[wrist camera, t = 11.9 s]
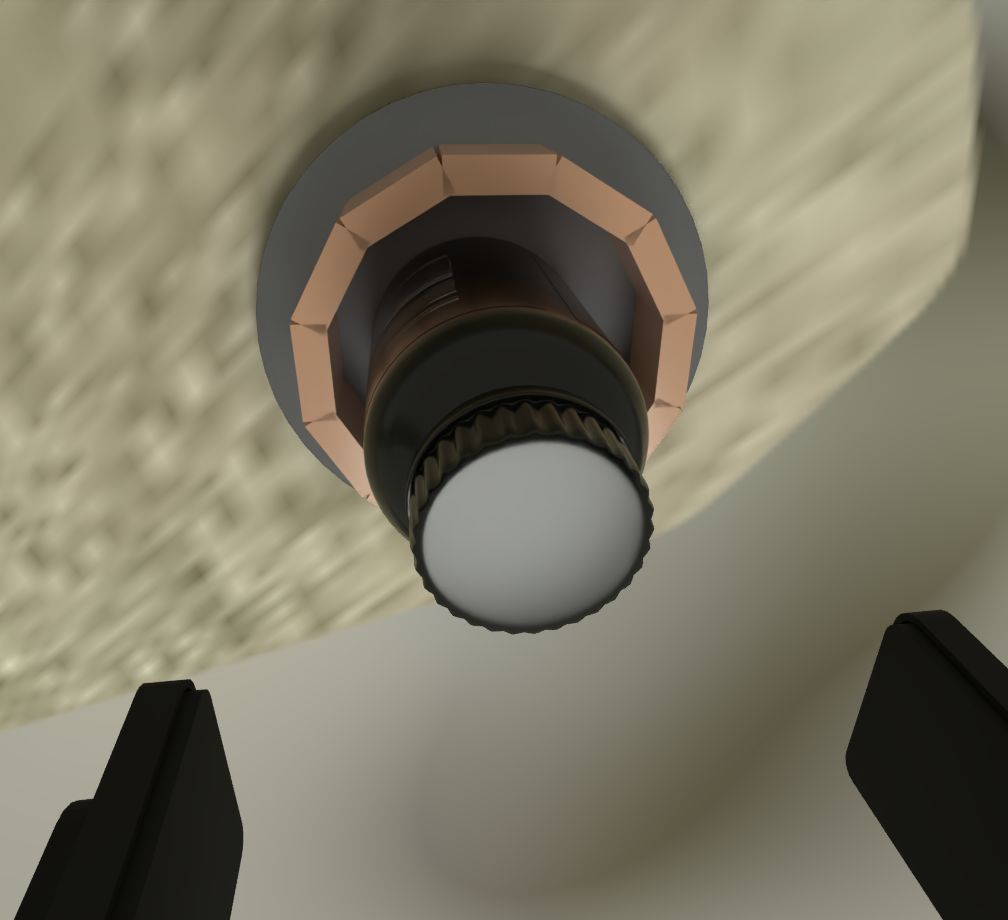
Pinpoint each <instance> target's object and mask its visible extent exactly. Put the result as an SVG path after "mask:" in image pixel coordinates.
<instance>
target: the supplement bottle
mask: <svg viewBox="0 0 1008 920" xmlns="http://www.w3.org/2000/svg"><path fill="white" fill-rule="evenodd" d="M648 445H649V424H648V415H647V409H646V404H645V401H644V398H643V394H642V391H641V389H640V387H639V385H638V382H637V380H636V378H635V377H634V375H633V373H632V371H631V370H630V368H629V366H628V365H627V363H626V361H625V360H624V358H623V357H622V356H621V354H620V353H619V352H618V350H617V349H616V348H615V346H614V345H613V344H612V342H611V341H610V340H609V339H608V337H607V336H606V335H605V333H604V332H603V331H602V329H601V328H600V327H599V326H598V324H597V323H596V322H595V320H594V319H593V318H592V316H591V315H590V314H589V313H588V311H587V310H586V309H585V307H584V306H583V305H582V304H581V302H580V301H579V300H578V298H577V297H576V296H575V294H574V293H573V292H572V291H571V289H570V288H569V287H568V285H567V284H566V283H565V281H564V280H563V279H562V278H561V277H560V276H559V275H558V273H557V272H556V271H555V270H554V269H553V268H552V267H551V266H550V265H549V264H548V263H547V262H545V261H544V260H543V259H542V258H540V257H539V256H537V255H536V254H535V253H533V252H531V251H530V250H528V249H526V248H524V247H522V246H520V245H518V244H515V243H512V242H509V241H506V240H502V239H497V238H491V237H465V238H459V239H454V240H450V241H446V242H443V243H440V244H438V245H436V246H433V247H431V248H429V249H427V250H425V251H424V252H422V253H420V254H419V255H417V256H416V257H414V258H413V259H412V260H411V261H409V262H408V263H407V264H406V265H405V266H404V267H403V268H402V269H401V270H400V271H399V272H398V273H397V274H396V276H395V277H394V278H393V279H392V281H391V282H390V284H389V285H388V287H387V288H386V290H385V292H384V294H383V296H382V298H381V300H380V303H379V305H378V308H377V311H376V314H375V318H374V323H373V330H372V336H371V346H370V357H369V369H368V381H367V393H366V405H365V417H364V431H363V451H364V464H365V469H366V475H367V478H368V482H369V485H370V488H371V490H372V493H373V495H374V497H375V500H376V502H377V503H378V505H379V507H380V509H381V510H382V512H383V514H384V515H385V516H386V518H387V519H388V521H389V522H390V523H391V524H392V525H393V526H394V527H395V529H396V530H397V531H398V532H399V533H400V534H401V535H402V536H403V537H404V538H406V539H407V540H408V541H409V542H410V548H411V550H412V552H413V554H414V566H415V569H416V571H417V572H418V573H419V575H420V576H421V577H422V580H423V585H424V588H425V589H426V590H428V591H429V592H431V593H432V594H434V597H435V600H436V602H437V604H439V605H441V606H444V607H446V608H448V610H449V611H450V613H451V614H452V615H453V616H455V617H458V618H463V619H465V620H466V621H467V622H468V623H469V624H471V625H473V626H483V627H485V628H487V629H488V630H490V631H505V632H508V633H510V634H518V633H523V632H526V633H532V634H536V633H539V632H541V631H544V630H557V629H559V628H561V627H562V626H564V625H566V624H571V623H577V622H579V621H580V620H582V619H583V618H584V617H585V616H587V615H591V614H594V613H597V612H598V611H599V610H600V609H601V608H602V607H603V606H604V605H605V604H607V603H609V602H611V601H613V600H615V599H616V597H617V596H618V594H619V592H620V591H621V590H622V589H624V588H626V587H627V586H628V585H630V584H631V581H632V578H633V575H634V574H635V573H636V572H638V571H639V570H640V569H641V568H642V564H643V557H644V556H645V555H646V554H647V552H648V551H649V549H650V542H649V539H650V537H651V535H652V533H653V531H654V525H653V522H652V520H651V518H652V515H653V511H654V507H653V504H652V502H651V500H650V498H649V488H648V485H647V483H646V481H645V479H644V478H643V476H642V473H643V470H644V466H645V462H646V458H647V452H648Z"/></svg>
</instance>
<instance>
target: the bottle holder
mask: <svg viewBox="0 0 1008 920" xmlns="http://www.w3.org/2000/svg"><path fill="white" fill-rule="evenodd" d="M465 237H491V238H497V239H502V240H506V241H509V242H512V243H515V244H518V245H520V246H522V247H524V248H526V249H528V250H530V251H531V252H533V253H535V254H536V255H537V256H539V257H540V258H542V259H543V260H544V261H545V262H547V263H548V264H549V265H550V266H551V267H552V268H553V269H554V270H555V271H556V272H557V273H558V275H559V276H560V277H561V278H562V279H563V280H564V281H565V283H566V284H567V285H568V287H569V288H570V289H571V291H572V292H573V293H574V294H575V296H576V297H577V298H578V300H579V301H580V302H581V304H582V305H583V306H584V307H585V309H586V310H587V311H588V313H589V314H590V315H591V316H592V318H593V319H594V320H595V322H596V323H597V324H598V326H599V327H600V328H601V329H602V331H603V332H604V333H605V335H606V336H607V337H608V339H609V340H610V341H611V342H612V344H613V345H614V346H615V348H616V349H617V350H618V352H619V353H620V354H621V356H622V357H623V358H624V360H625V361H626V363H627V365H628V366H629V368H630V370H631V371H632V373H633V375H634V377H635V378H636V380H637V382H638V385H639V387H640V389H641V391H642V394H643V398H644V401H645V404H646V409H647V415H648V424H649V445H648V452H647V458H646V461H647V459H648V458H649V457H650V455H651V454H652V453H653V451H654V450H655V448H656V447H657V446H658V444H659V443H660V442H661V440H662V439H663V437H664V436H665V435H666V433H667V432H668V431H669V429H670V428H671V426H672V425H673V424H674V422H675V421H676V420H677V418H678V417H679V415H680V414H681V413H682V411H683V410H682V409H681V408H680V407H683V406H685V400H686V394H687V392H688V390H689V388H690V385H691V383H692V381H693V378H694V375H695V372H696V369H697V366H698V363H699V360H700V358H701V353H702V349H703V344H704V339H705V334H706V329H707V316H708V303H709V299H708V281H707V270H706V265H705V260H704V254H703V249H702V244H701V241H700V238H699V235H698V232H697V229H696V227H695V224H694V221H693V218H692V215H691V213H690V211H689V209H688V207H687V205H686V203H685V201H684V199H683V197H682V195H681V194H680V192H679V190H678V188H677V187H676V185H675V184H674V182H673V181H672V180H671V178H670V177H669V175H668V174H667V172H666V171H665V170H664V168H663V167H662V165H661V164H660V163H659V162H658V161H657V160H656V159H655V158H654V157H653V156H652V154H651V153H650V152H649V151H648V150H647V149H646V148H645V147H644V146H643V145H642V144H641V143H640V142H639V141H638V140H637V139H635V138H634V137H633V136H632V135H630V134H629V133H628V132H627V131H625V130H624V129H623V128H622V127H620V126H619V125H618V124H617V123H615V122H614V121H612V120H610V119H609V118H607V117H605V116H603V115H602V114H600V113H598V112H596V111H595V110H593V109H591V108H590V107H588V106H586V105H583V104H581V103H578V102H576V101H573V100H571V99H568V98H566V97H563V96H561V95H558V94H555V93H551V92H547V91H542V90H538V89H534V88H529V87H525V86H520V85H511V84H498V83H486V82H485V83H470V84H455V85H449V86H444V87H440V88H435V89H431V90H426V91H421V92H418V93H416V94H413V95H410V96H408V97H405V98H403V99H400V100H397V101H395V102H392V103H389V104H388V105H386V106H384V107H382V108H381V109H379V110H377V111H375V112H373V113H372V114H370V115H368V116H366V117H364V118H363V119H361V120H360V121H358V122H357V123H356V124H354V125H353V126H352V127H350V128H349V129H348V130H347V131H345V132H344V133H343V134H341V135H340V136H339V137H337V138H336V139H335V140H334V141H333V142H332V143H331V144H330V145H329V146H328V147H327V148H326V149H325V150H324V151H323V152H322V153H321V154H320V155H319V156H318V157H317V158H316V159H315V160H314V161H313V162H312V164H311V165H310V166H309V167H308V168H307V169H306V171H305V172H304V174H303V175H302V176H301V178H300V179H299V180H298V182H297V183H296V185H295V186H294V187H293V189H292V190H291V192H290V193H289V195H288V197H287V198H286V200H285V202H284V204H283V206H282V208H281V210H280V212H279V214H278V216H277V218H276V220H275V221H274V224H273V227H272V230H271V232H270V235H269V238H268V241H267V244H266V247H265V250H264V253H263V258H262V263H261V268H260V273H259V278H258V284H257V303H256V319H257V331H258V342H259V347H260V351H261V356H262V360H263V364H264V369H265V372H266V375H267V378H268V380H269V383H270V386H271V388H272V391H273V394H274V396H275V399H276V400H277V402H278V404H279V406H280V408H281V410H282V412H283V413H284V415H285V417H286V419H287V421H288V423H289V424H290V425H291V427H292V428H293V430H294V431H295V432H296V434H297V435H298V437H299V438H300V439H301V441H302V442H303V443H304V445H305V446H306V447H307V448H308V449H309V450H310V451H311V452H312V453H313V454H314V456H315V457H316V458H317V459H318V460H319V461H320V462H321V463H322V464H323V465H324V466H325V467H326V468H328V469H329V470H330V471H331V472H332V473H334V474H335V475H336V476H337V477H338V478H340V479H341V480H342V481H343V482H345V483H346V484H348V485H349V486H351V487H352V488H354V489H356V490H357V492H358V493H359V494H360V495H361V497H362V498H364V497H365V496H367V501H368V502H371V503H373V504H375V505H378V503H377V502H376V500H375V497H374V495H373V493H372V490H371V488H370V485H369V482H368V478H367V475H366V469H365V464H364V451H363V431H364V417H365V405H366V393H367V381H368V369H369V357H370V346H371V336H372V330H373V323H374V318H375V314H376V311H377V308H378V305H379V303H380V300H381V298H382V296H383V294H384V292H385V290H386V288H387V287H388V285H389V284H390V282H391V281H392V279H393V278H394V277H395V276H396V274H397V273H398V272H399V271H400V270H401V269H402V268H403V267H404V266H405V265H406V264H407V263H408V262H409V261H411V260H412V259H413V258H414V257H416V256H417V255H419V254H420V253H422V252H424V251H425V250H427V249H429V248H431V247H433V246H436V245H438V244H440V243H443V242H446V241H450V240H454V239H459V238H465ZM378 506H379V505H378Z"/></svg>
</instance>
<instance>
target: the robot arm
mask: <svg viewBox="0 0 1008 920" xmlns="http://www.w3.org/2000/svg"><path fill="white" fill-rule="evenodd" d="M846 766H847V770H848V773H849V776H850V778H851V779H852V781H853V783H854V784H855V786H856V787H857V789H858V790H859V792H860V793H861V795H862V797H863V798H864V800H865V801H866V803H867V804H868V806H869V807H870V809H871V810H872V812H873V813H874V815H875V817H876V818H877V819H878V821H879V823H880V824H881V826H882V827H883V829H884V830H885V832H886V833H887V835H888V836H889V838H890V840H891V841H892V843H893V844H894V846H895V847H896V849H897V850H898V852H899V853H900V855H901V856H902V858H903V859H904V861H905V862H906V864H907V866H908V867H909V869H910V870H911V871H912V873H913V875H914V876H915V878H916V879H917V881H918V882H919V884H920V885H921V887H922V888H923V890H924V892H925V893H926V895H927V896H928V897H929V899H930V901H931V902H932V904H933V905H934V907H935V908H936V910H937V911H938V913H939V914H940V916H941V918H942V919H943V920H1008V668H1007V667H1006V666H1005V665H1003V663H1002V662H1000V661H999V660H998V659H997V658H996V657H995V656H994V655H993V654H992V653H991V652H990V651H989V650H988V649H987V648H986V647H985V646H984V645H983V644H982V643H981V642H980V641H979V640H978V639H977V638H976V637H975V636H974V635H973V634H971V633H970V632H969V631H968V630H967V629H966V628H965V627H964V626H963V625H962V624H961V623H960V622H959V621H958V620H957V619H956V618H955V617H954V616H952V615H951V614H950V613H948V612H946V611H943V610H933V611H922V612H912V613H903V614H900V615H899V616H898V617H897V618H896V620H895V621H894V623H893V625H890V626H889V627H887V629H886V631H885V634H884V637H883V640H882V643H881V646H880V649H879V652H878V655H877V658H876V661H875V664H874V667H873V671H872V674H871V677H870V680H869V683H868V687H867V689H866V692H865V695H864V698H863V702H862V705H861V708H860V711H859V714H858V717H857V720H856V723H855V726H854V730H853V733H852V736H851V739H850V742H849V745H848V748H847V751H846ZM242 850H243V826H242V821H241V817H240V813H239V809H238V805H237V800H236V796H235V792H234V788H233V784H232V780H231V776H230V772H229V768H228V764H227V760H226V756H225V752H224V748H223V744H222V740H221V735H220V731H219V728H218V724H217V719H216V715H215V711H214V707H213V703H212V699H211V696H210V693H209V691H208V690H196V688H195V686H194V683H193V682H192V681H191V680H190V679H186V680H176V681H165V682H154V683H143V684H142V685H141V686H140V687H139V689H138V690H137V692H136V694H135V697H134V699H133V702H132V704H131V707H130V709H129V712H128V714H127V717H126V719H125V722H124V724H123V727H122V729H121V731H120V734H119V736H118V739H117V741H116V744H115V746H114V749H113V751H112V754H111V756H110V759H109V761H108V764H107V766H106V768H105V771H104V774H103V776H102V778H101V781H100V783H99V786H98V789H97V791H96V793H95V796H94V798H93V799H86V800H78V801H75V802H72V803H70V805H69V806H68V807H67V808H66V809H65V810H64V811H63V812H62V814H61V816H60V818H59V820H58V822H57V823H56V825H55V828H54V830H53V832H52V834H51V837H50V839H49V841H48V843H47V846H46V848H45V850H44V853H43V855H42V857H41V860H40V862H39V864H38V866H37V869H36V871H35V873H34V875H33V878H32V880H31V882H30V884H29V887H28V889H27V891H26V893H25V896H24V898H23V900H22V903H21V905H20V907H19V909H18V912H17V914H16V916H15V918H14V920H230V916H231V911H232V905H233V900H234V895H235V889H236V884H237V879H238V873H239V868H240V862H241V857H242Z"/></svg>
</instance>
